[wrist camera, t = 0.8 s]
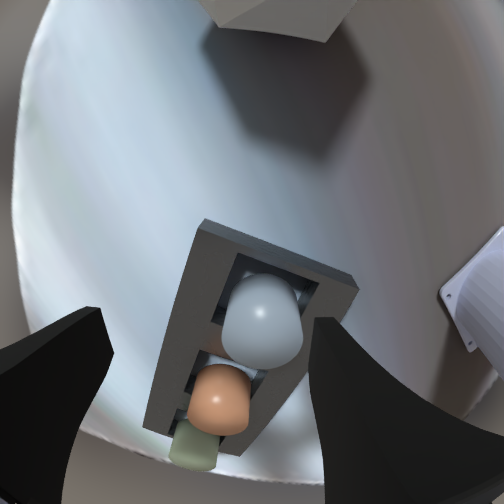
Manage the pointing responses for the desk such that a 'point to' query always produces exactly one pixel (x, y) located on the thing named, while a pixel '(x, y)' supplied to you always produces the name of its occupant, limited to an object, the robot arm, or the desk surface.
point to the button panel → (212, 321)
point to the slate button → (262, 322)
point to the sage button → (194, 448)
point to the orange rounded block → (220, 400)
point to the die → (281, 16)
